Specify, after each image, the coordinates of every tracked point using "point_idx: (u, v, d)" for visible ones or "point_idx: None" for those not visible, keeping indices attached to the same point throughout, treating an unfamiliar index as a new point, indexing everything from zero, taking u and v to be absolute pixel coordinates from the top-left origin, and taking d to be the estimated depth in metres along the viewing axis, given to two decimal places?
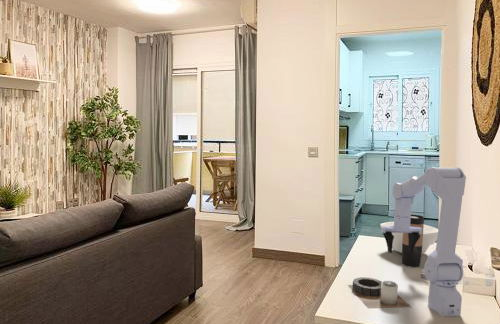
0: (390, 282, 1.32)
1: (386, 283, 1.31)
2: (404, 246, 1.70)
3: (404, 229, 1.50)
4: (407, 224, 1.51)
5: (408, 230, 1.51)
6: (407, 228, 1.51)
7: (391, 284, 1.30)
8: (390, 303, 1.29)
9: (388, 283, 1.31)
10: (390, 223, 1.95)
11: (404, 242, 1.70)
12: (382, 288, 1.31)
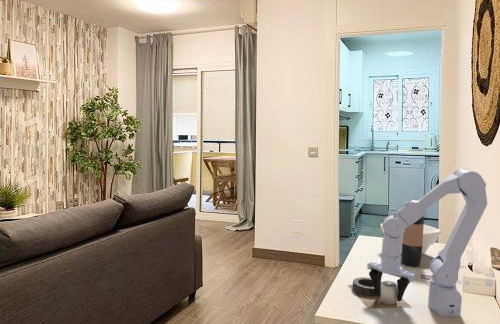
0: (390, 282, 1.32)
1: (386, 283, 1.31)
2: (404, 246, 1.70)
3: (385, 270, 1.29)
4: (389, 265, 1.28)
5: (390, 272, 1.28)
6: (389, 270, 1.28)
7: (391, 284, 1.30)
8: (390, 303, 1.29)
9: (388, 283, 1.31)
10: None
11: (404, 242, 1.70)
12: (382, 288, 1.31)
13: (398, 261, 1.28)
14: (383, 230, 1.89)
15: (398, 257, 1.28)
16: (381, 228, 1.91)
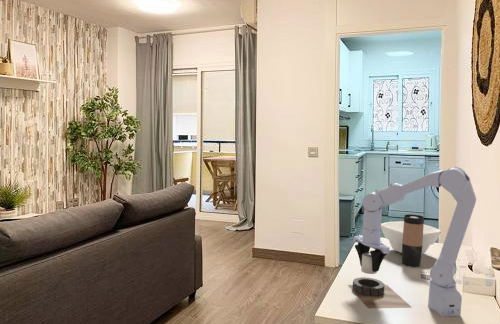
0: None
1: (366, 253, 1.39)
2: (404, 246, 1.70)
3: (364, 242, 1.38)
4: (367, 237, 1.37)
5: (368, 244, 1.36)
6: (367, 242, 1.37)
7: (370, 255, 1.38)
8: (368, 272, 1.37)
9: (368, 254, 1.39)
10: (390, 223, 1.95)
11: (404, 242, 1.70)
12: (362, 258, 1.39)
13: (376, 234, 1.36)
14: (383, 230, 1.89)
15: (375, 230, 1.36)
16: (381, 228, 1.91)
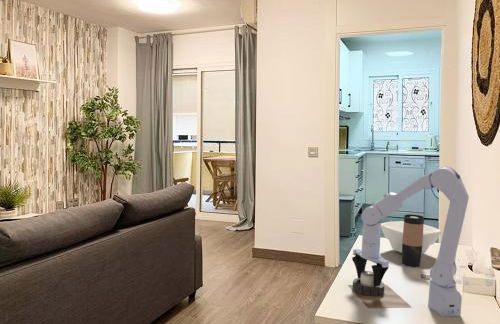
0: (370, 272, 1.40)
1: (365, 272, 1.40)
2: (404, 246, 1.70)
3: (363, 255, 1.38)
4: (366, 251, 1.37)
5: (367, 258, 1.37)
6: (366, 255, 1.37)
7: (369, 274, 1.39)
8: None
9: (367, 273, 1.40)
10: (390, 223, 1.95)
11: (404, 242, 1.70)
12: (361, 277, 1.40)
13: (375, 248, 1.36)
14: (383, 230, 1.89)
15: (375, 244, 1.36)
16: (381, 228, 1.91)
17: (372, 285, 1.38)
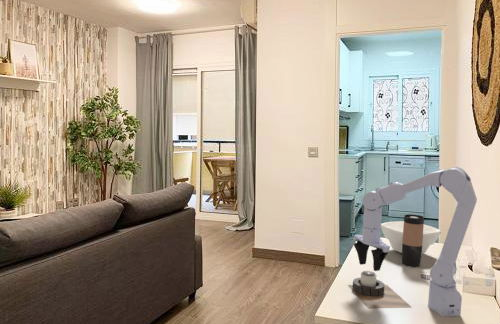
0: (370, 272, 1.40)
1: (365, 272, 1.40)
2: (404, 246, 1.70)
3: (364, 240, 1.38)
4: (367, 236, 1.37)
5: (368, 243, 1.36)
6: (367, 240, 1.37)
7: (369, 274, 1.39)
8: None
9: (367, 273, 1.40)
10: (390, 223, 1.95)
11: (404, 242, 1.70)
12: (361, 277, 1.40)
13: (376, 233, 1.36)
14: (383, 230, 1.89)
15: (375, 229, 1.36)
16: (381, 228, 1.91)
17: (372, 285, 1.38)
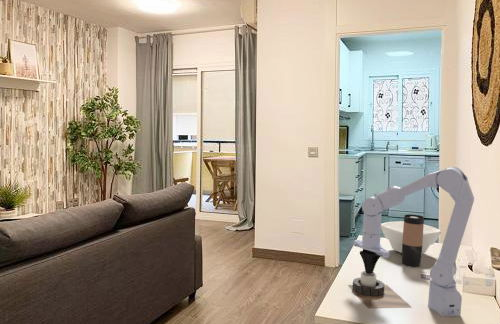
0: None
1: (365, 272, 1.40)
2: (404, 246, 1.70)
3: (363, 246, 1.38)
4: (367, 242, 1.37)
5: (367, 249, 1.37)
6: (367, 246, 1.37)
7: (369, 274, 1.39)
8: None
9: (367, 273, 1.40)
10: (390, 223, 1.95)
11: (404, 242, 1.70)
12: (361, 277, 1.40)
13: (375, 239, 1.36)
14: (383, 230, 1.89)
15: (375, 235, 1.36)
16: (381, 228, 1.91)
17: (372, 285, 1.38)
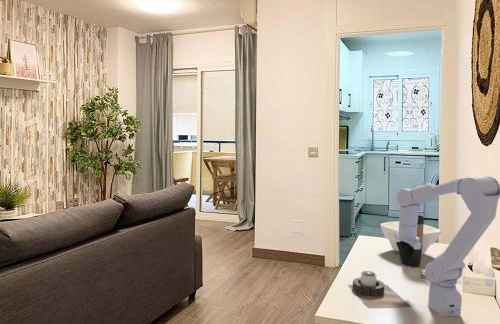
0: (370, 272, 1.40)
1: (365, 272, 1.40)
2: None
3: (398, 237, 1.40)
4: (401, 232, 1.39)
5: (401, 239, 1.38)
6: (401, 237, 1.39)
7: (369, 274, 1.39)
8: None
9: (367, 273, 1.40)
10: (390, 223, 1.95)
11: None
12: (361, 277, 1.40)
13: (409, 230, 1.37)
14: (383, 230, 1.89)
15: (409, 226, 1.37)
16: (381, 228, 1.91)
17: (372, 285, 1.38)
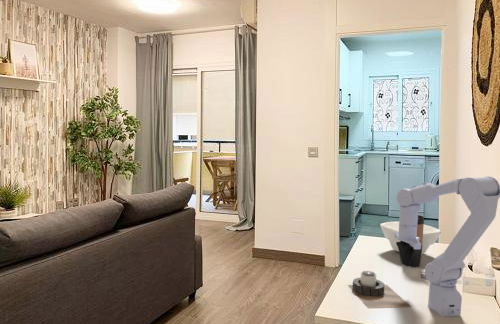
0: (370, 272, 1.40)
1: (365, 272, 1.40)
2: None
3: (398, 237, 1.40)
4: (401, 232, 1.39)
5: (401, 239, 1.38)
6: (401, 237, 1.39)
7: (369, 274, 1.39)
8: None
9: (367, 273, 1.40)
10: (390, 223, 1.95)
11: None
12: (361, 277, 1.40)
13: (409, 230, 1.37)
14: (383, 230, 1.89)
15: (409, 226, 1.37)
16: (381, 228, 1.91)
17: (372, 285, 1.38)
